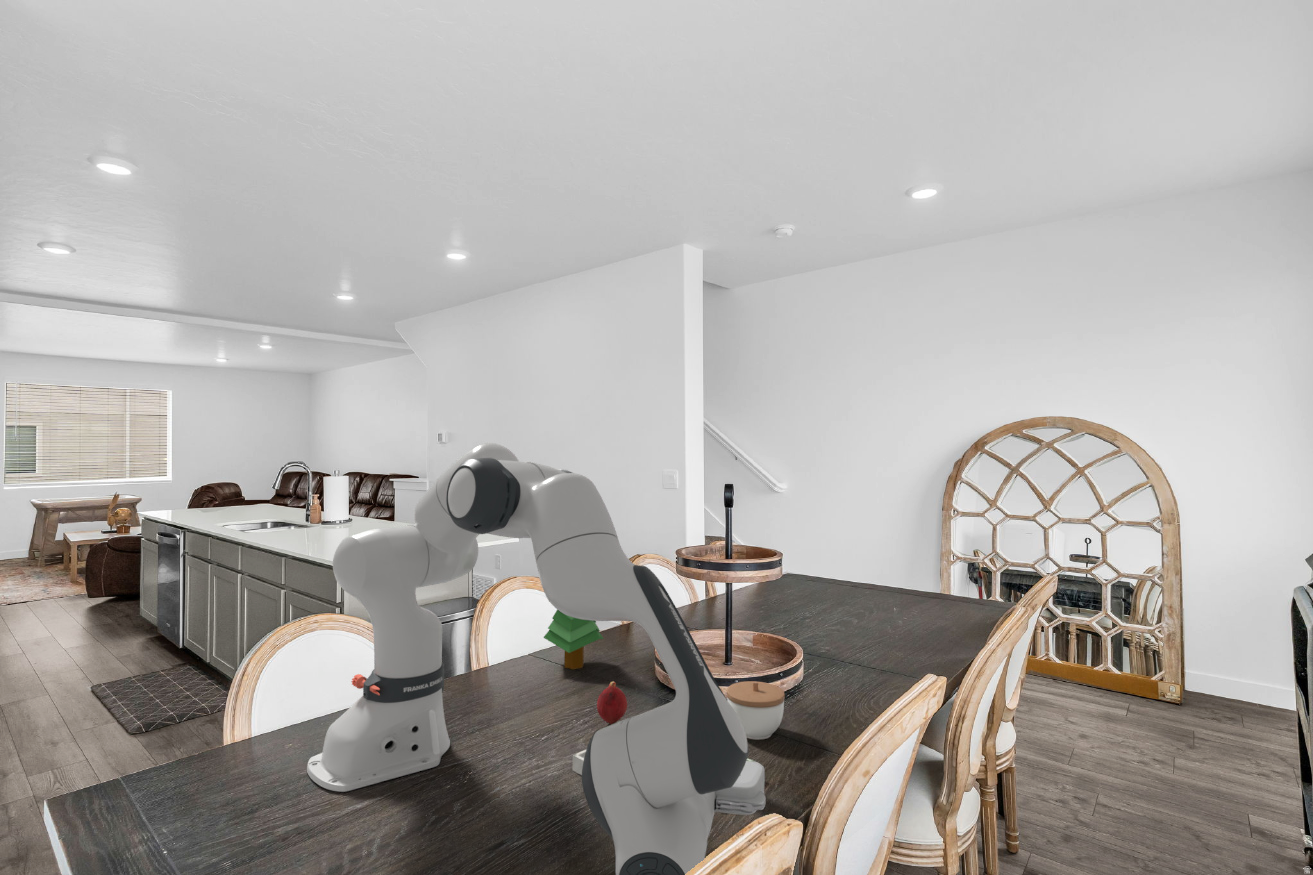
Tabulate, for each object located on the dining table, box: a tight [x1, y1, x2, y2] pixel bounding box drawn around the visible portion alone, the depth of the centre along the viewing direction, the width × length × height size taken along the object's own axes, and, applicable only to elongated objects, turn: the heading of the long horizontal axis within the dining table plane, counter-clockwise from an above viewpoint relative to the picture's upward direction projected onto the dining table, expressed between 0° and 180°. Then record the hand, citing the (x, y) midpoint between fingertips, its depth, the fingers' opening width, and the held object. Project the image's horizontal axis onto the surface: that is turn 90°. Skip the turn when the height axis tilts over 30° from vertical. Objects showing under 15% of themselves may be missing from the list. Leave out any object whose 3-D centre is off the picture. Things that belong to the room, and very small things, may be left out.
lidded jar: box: [726, 680, 786, 741], centre depth 123 cm, size 11×11×9 cm
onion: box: [596, 681, 628, 725], centre depth 126 cm, size 6×6×8 cm
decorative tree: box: [543, 609, 605, 670], centre depth 160 cm, size 14×16×30 cm
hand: (694, 751), depth 94 cm, fingers open, 8 cm apart
